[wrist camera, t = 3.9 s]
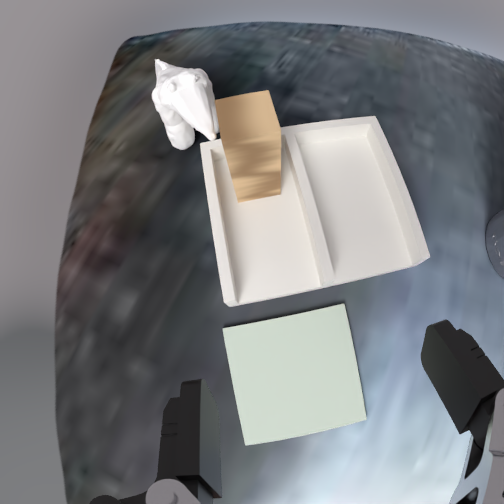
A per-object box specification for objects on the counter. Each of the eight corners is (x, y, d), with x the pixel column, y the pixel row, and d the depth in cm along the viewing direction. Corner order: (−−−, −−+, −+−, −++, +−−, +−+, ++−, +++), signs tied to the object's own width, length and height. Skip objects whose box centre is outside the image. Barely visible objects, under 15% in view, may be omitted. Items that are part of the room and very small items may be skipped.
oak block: (271, 159, 35) (268, 90, 24) (280, 194, 34) (281, 130, 23) (231, 166, 35) (214, 100, 24) (238, 202, 34) (221, 141, 23)
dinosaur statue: (201, 200, 34) (166, 132, 24) (143, 90, 43) (117, 35, 33) (257, 171, 35) (242, 96, 25) (183, 70, 44) (163, 13, 34)
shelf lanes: (368, 133, 36) (375, 115, 33) (416, 265, 31) (430, 256, 28) (206, 160, 37) (199, 143, 33) (229, 306, 32) (224, 302, 28)
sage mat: (343, 303, 31) (344, 303, 31) (365, 418, 28) (366, 419, 27) (223, 328, 31) (222, 328, 31) (245, 444, 28) (245, 445, 27)
